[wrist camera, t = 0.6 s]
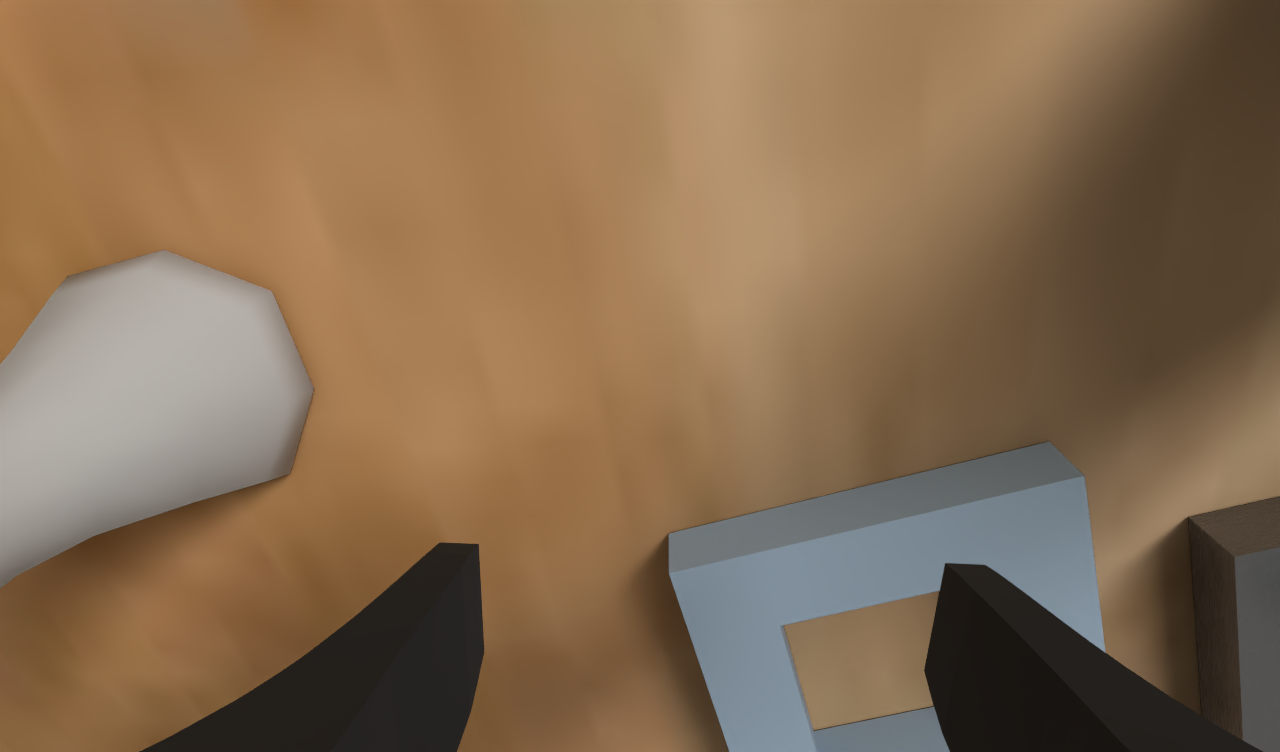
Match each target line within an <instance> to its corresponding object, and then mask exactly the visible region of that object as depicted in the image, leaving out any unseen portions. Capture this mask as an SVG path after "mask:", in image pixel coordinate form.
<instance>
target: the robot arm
mask: <svg viewBox="0 0 1280 752" xmlns="http://www.w3.org/2000/svg"><path fill="white" fill-rule="evenodd" d="M483 655H484V639H483V620H482V601H481V581H480V562H479V544H462V543H439V544H438V545H436V546H435V547H434V548H433V549H432V550H431V551H429V552H428V553H427V554H426V555H425V556H424V557H422V558H421V559H420V560H419V561H418V562H417V563H416V564H415V565H413V566H412V567H411V568H410V569H409V570H408V571H407V572H406V573H405V574H403V575H402V576H401V577H400V578H399V579H398V580H397V581H396V582H394V583H393V584H392V585H391V586H390V587H389V588H388V589H387V590H385V591H384V592H383V593H382V594H381V595H380V596H379V597H377V598H376V599H375V600H374V601H373V602H371V603H370V604H369V605H368V606H367V607H366V608H364V609H363V610H362V611H361V612H360V613H359V614H357V615H356V616H355V617H354V618H353V619H351V620H350V621H349V622H347V623H346V624H345V625H344V626H342V627H341V628H340V629H338V630H337V631H336V632H335V633H333V634H332V635H331V636H329V637H328V638H327V639H325V640H324V641H323V642H322V643H320V644H319V645H318V646H316V647H315V648H314V649H313V650H311V651H310V652H309V653H307V654H306V655H304V656H303V657H302V658H300V659H299V660H297V661H296V662H295V663H293V664H292V665H290V666H289V667H287V668H286V669H284V670H283V671H281V672H280V673H278V674H277V675H275V676H274V677H272V678H271V679H269V680H267V681H266V682H264V683H263V684H261V685H260V686H258V687H257V688H255V689H253V690H252V691H250V692H249V693H247V694H245V695H244V696H242V697H240V698H239V699H237V700H235V701H234V702H232V703H230V704H228V705H227V706H225V707H223V708H221V709H219V710H218V711H216V712H214V713H212V714H210V715H208V716H207V717H205V718H203V719H201V720H199V721H198V722H196V723H194V724H192V725H190V726H189V727H187V728H185V729H183V730H181V731H179V732H178V733H176V734H174V735H172V736H170V737H168V738H166V739H164V740H162V741H160V742H158V743H156V744H154V745H152V746H150V747H148V748H146V749H144V750H142V751H140V752H457V749H458V747H459V744H460V741H461V738H462V735H463V733H464V730H465V727H466V724H467V721H468V718H469V715H470V712H471V708H472V704H473V700H474V695H475V691H476V687H477V682H478V678H479V673H480V668H481V664H482V659H483ZM924 671H925V675H926V678H927V682H928V686H929V690H930V693H931V697H932V701H933V704H934V708H935V711H936V714H937V718H938V721H939V724H940V728H941V731H942V734H943V736H944V739H945V741H946V744H947V746H948V748H949V751H950V752H1263V751H1261V750H1259V749H1258V748H1256V747H1254V746H1252V745H1250V744H1248V743H1247V742H1245V741H1243V740H1242V739H1240V738H1238V737H1236V736H1235V735H1233V734H1231V733H1230V732H1228V731H1226V730H1224V729H1223V728H1221V727H1219V726H1218V725H1216V724H1214V723H1212V722H1211V721H1209V720H1207V719H1206V718H1204V717H1202V716H1200V715H1199V714H1197V713H1195V712H1194V711H1192V710H1191V709H1189V708H1187V707H1186V706H1184V705H1183V704H1181V703H1179V702H1178V701H1176V700H1175V699H1173V698H1171V697H1170V696H1168V695H1167V694H1165V693H1164V692H1162V691H1161V690H1159V689H1158V688H1156V687H1155V686H1153V685H1152V684H1150V683H1149V682H1147V681H1146V680H1144V679H1143V678H1141V677H1140V676H1138V675H1137V674H1135V673H1134V672H1132V671H1131V670H1129V669H1128V668H1126V667H1125V666H1124V665H1122V664H1121V663H1119V662H1118V661H1116V660H1115V659H1114V658H1112V657H1111V656H1109V655H1108V654H1106V653H1105V652H1104V651H1102V650H1101V649H1100V648H1098V647H1097V646H1095V645H1094V644H1093V643H1091V642H1090V641H1089V640H1087V639H1086V638H1084V637H1083V636H1082V635H1080V634H1079V633H1078V632H1076V631H1075V630H1074V629H1072V628H1071V627H1070V626H1068V625H1067V624H1066V623H1064V622H1063V621H1062V620H1060V619H1059V618H1058V617H1056V616H1055V615H1054V614H1052V613H1051V612H1050V611H1048V610H1047V609H1046V608H1044V607H1043V606H1042V605H1040V604H1039V603H1038V602H1036V601H1035V600H1034V599H1032V598H1031V597H1030V596H1028V595H1027V594H1026V593H1025V592H1023V591H1022V590H1020V589H1019V588H1018V587H1016V586H1015V585H1014V584H1012V583H1011V582H1010V581H1008V580H1007V579H1006V578H1004V577H1003V576H1001V575H1000V574H999V573H997V572H996V571H994V570H993V569H991V568H990V567H988V566H986V565H981V564H956V563H945V566H944V571H943V576H942V582H941V587H940V592H939V597H938V602H937V607H936V613H935V618H934V623H933V628H932V633H931V638H930V644H929V649H928V654H927V659H926V664H925V669H924Z"/></svg>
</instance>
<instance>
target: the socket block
mask: <svg viewBox="0 0 1280 752" xmlns="http://www.w3.org/2000/svg"><path fill="white" fill-rule="evenodd" d="M1188 519H1189V534H1190V549H1191V563H1192V578H1193V593H1194V608H1195V622H1196V637H1197V652H1198V667H1199V681H1200V696H1201V711H1202V717H1204V718H1206V719H1207V720H1209V721H1211V722H1212V723H1214V724H1216V725H1218V726H1219V727H1221V728H1223V729H1224V730H1226V731H1228V732H1230V733H1231V734H1233V735H1235V736H1236V737H1238V738H1240V739H1242V740H1243V741H1245V742H1247V743H1248V744H1250V745H1252V746H1254V747H1256V748H1258V749H1259V750H1261V751H1263V752H1280V497H1276V498H1272V499H1267V500H1263V501H1258V502H1254V503H1249V504H1245V505H1240V506H1236V507H1232V508H1227V509H1223V510H1218V511H1214V512H1209V513H1205V514H1200V515H1196V516H1191V517H1188Z"/></svg>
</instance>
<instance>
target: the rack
mask: <svg viewBox="0 0 1280 752" xmlns="http://www.w3.org/2000/svg"><path fill="white" fill-rule="evenodd" d="M945 563H956V564H981V565H986V566H988V567H990V568H991V569H993V570H994V571H996V572H997V573H999V574H1000V575H1001V576H1003V577H1004V578H1006V579H1007V580H1008V581H1010V582H1011V583H1012V584H1014V585H1015V586H1016V587H1018V588H1019V589H1020V590H1022V591H1023V592H1025V593H1026V594H1027V595H1028V596H1030V597H1031V598H1032V599H1034V600H1035V601H1036V602H1038V603H1039V604H1040V605H1042V606H1043V607H1044V608H1046V609H1047V610H1048V611H1050V612H1051V613H1052V614H1054V615H1055V616H1056V617H1058V618H1059V619H1060V620H1062V621H1063V622H1064V623H1066V624H1067V625H1068V626H1070V627H1071V628H1072V629H1074V630H1075V631H1076V632H1078V633H1079V634H1080V635H1082V636H1083V637H1084V638H1086V639H1087V640H1089V641H1090V642H1091V643H1093V644H1094V645H1095V646H1097V647H1098V648H1100V649H1101V650H1102V651H1104V652H1105V645H1104V636H1103V628H1102V619H1101V611H1100V602H1099V594H1098V585H1097V577H1096V568H1095V560H1094V551H1093V543H1092V534H1091V526H1090V517H1089V509H1088V500H1087V492H1086V483H1085V476H1084V475H1083V474H1082V473H1081V472H1080V471H1079V470H1078V469H1077V468H1076V467H1075V466H1074V465H1073V464H1072V463H1071V462H1070V461H1069V460H1068V459H1067V458H1066V457H1065V456H1064V455H1063V454H1062V453H1061V452H1060V451H1059V450H1058V449H1057V448H1056V447H1055V446H1054V445H1053V444H1052V443H1050V442H1045V443H1041V444H1037V445H1033V446H1028V447H1024V448H1020V449H1016V450H1012V451H1008V452H1004V453H1000V454H995V455H991V456H987V457H983V458H979V459H975V460H971V461H966V462H962V463H958V464H954V465H950V466H946V467H942V468H938V469H933V470H929V471H925V472H921V473H917V474H913V475H909V476H904V477H900V478H896V479H892V480H888V481H884V482H880V483H876V484H871V485H867V486H863V487H859V488H855V489H851V490H847V491H842V492H838V493H834V494H830V495H826V496H822V497H818V498H814V499H809V500H805V501H801V502H797V503H793V504H789V505H785V506H780V507H776V508H772V509H768V510H764V511H760V512H756V513H752V514H747V515H743V516H739V517H735V518H731V519H727V520H723V521H718V522H714V523H710V524H706V525H702V526H698V527H694V528H690V529H685V530H681V531H677V532H673V533H669V575H670V578H671V581H672V584H673V587H674V590H675V593H676V596H677V599H678V602H679V605H680V608H681V610H682V613H683V616H684V619H685V622H686V625H687V628H688V631H689V634H690V637H691V640H692V643H693V646H694V649H695V652H696V655H697V658H698V661H699V664H700V667H701V669H702V672H703V675H704V678H705V681H706V684H707V687H708V690H709V693H710V696H711V699H712V702H713V705H714V708H715V711H716V714H717V717H718V720H719V723H720V725H721V728H722V731H723V734H724V737H725V740H726V743H727V746H728V749H729V752H950V751H949V748H948V746H947V744H946V741H945V739H944V736H943V734H942V731H941V728H940V724H939V721H938V718H937V714H936V711H935V708H934V707H930V708H925V709H920V710H915V711H910V712H905V713H900V714H895V715H891V716H886V717H881V718H876V719H871V720H866V721H861V722H856V723H851V724H846V725H841V726H836V727H832V728H827V729H822V730H817V731H813V727H812V724H811V720H810V717H809V713H808V710H807V706H806V703H805V699H804V696H803V692H802V689H801V685H800V682H799V678H798V675H797V672H796V668H795V665H794V661H793V658H792V654H791V651H790V647H789V644H788V640H787V637H786V633H785V630H784V626H783V625H787V624H791V623H796V622H800V621H805V620H809V619H814V618H818V617H823V616H827V615H832V614H836V613H841V612H845V611H850V610H854V609H859V608H863V607H868V606H872V605H877V604H881V603H886V602H890V601H895V600H899V599H904V598H909V597H913V596H918V595H922V594H927V593H931V592H936V591H940V587H941V582H942V576H943V571H944V566H945Z"/></svg>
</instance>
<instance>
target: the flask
mask: <svg viewBox="0 0 1280 752" xmlns="http://www.w3.org/2000/svg"><path fill="white" fill-rule="evenodd" d="M313 391H314V388H313V385H312V383H311V381H310V378H309V376H308V374H307V372H306V369H305V367H304V365H303V362H302V360H301V358H300V355H299V353H298V351H297V348H296V346H295V344H294V342H293V339H292V337H291V335H290V332H289V330H288V328H287V325H286V323H285V321H284V318H283V316H282V314H281V312H280V309H279V307H278V305H277V302H276V300H275V298H274V295H273V293H272V291H270V290H267V289H265V288H262V287H260V286H257V285H254V284H252V283H249V282H247V281H244V280H241V279H239V278H236V277H234V276H231V275H228V274H226V273H223V272H221V271H218V270H215V269H213V268H210V267H208V266H205V265H202V264H200V263H197V262H195V261H192V260H189V259H187V258H184V257H182V256H179V255H176V254H174V253H171V252H169V251H166V250H162V251H158V252H155V253H151V254H147V255H144V256H140V257H136V258H133V259H129V260H125V261H121V262H118V263H114V264H110V265H107V266H103V267H99V268H96V269H92V270H88V271H85V272H81V273H77V274H74V275H70V276H67V277H66V279H65V280H64V281H63V282H62V283H61V285H60V286H59V287H58V288H57V290H56V291H55V292H54V293H53V294H52V296H51V297H50V299H49V300H48V301H47V303H46V304H45V305H44V307H43V308H42V310H41V311H40V312H39V314H38V315H37V317H36V318H35V319H34V321H33V322H32V323H31V325H30V326H29V328H28V329H27V330H26V332H25V333H24V334H23V336H22V337H21V339H20V340H19V341H18V343H17V344H16V346H15V347H14V348H13V350H12V351H11V352H10V353H9V355H8V356H7V357H6V358H5V359H4V361H3V362H2V363H1V364H0V588H1V587H3V586H4V585H5V584H7V583H8V582H9V581H11V580H12V579H13V578H15V577H16V576H17V575H19V574H21V573H23V572H25V571H27V570H29V569H31V568H33V567H35V566H37V565H38V564H40V563H42V562H44V561H46V560H48V559H50V558H52V557H54V556H56V555H58V554H60V553H62V552H64V551H66V550H68V549H69V548H71V547H73V546H75V545H77V544H79V543H81V542H83V541H85V540H87V539H89V538H91V537H93V536H95V535H98V534H101V533H104V532H107V531H110V530H113V529H116V528H119V527H122V526H125V525H128V524H131V523H134V522H137V521H140V520H143V519H146V518H149V517H152V516H155V515H158V514H161V513H164V512H167V511H170V510H173V509H176V508H179V507H182V506H185V505H188V504H191V503H194V502H197V501H201V500H204V499H208V498H211V497H214V496H218V495H221V494H225V493H228V492H232V491H235V490H239V489H242V488H246V487H249V486H253V485H256V484H259V483H263V482H266V481H269V480H272V479H275V478H278V477H281V476H284V475H287V474H290V473H291V469H292V466H293V462H294V458H295V455H296V451H297V448H298V444H299V441H300V437H301V433H302V430H303V426H304V423H305V419H306V416H307V412H308V408H309V405H310V401H311V398H312V394H313Z"/></svg>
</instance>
